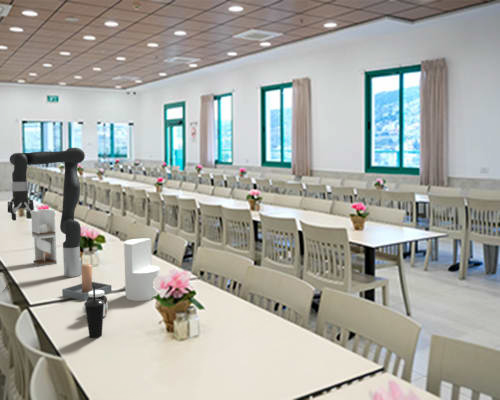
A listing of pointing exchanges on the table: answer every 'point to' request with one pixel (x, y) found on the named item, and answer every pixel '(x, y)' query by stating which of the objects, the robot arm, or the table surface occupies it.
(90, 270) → the pillar candle
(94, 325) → the drinking cup
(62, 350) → the table surface
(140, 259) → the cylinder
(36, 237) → the display case
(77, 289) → the shallow square tray
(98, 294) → the spread jar
